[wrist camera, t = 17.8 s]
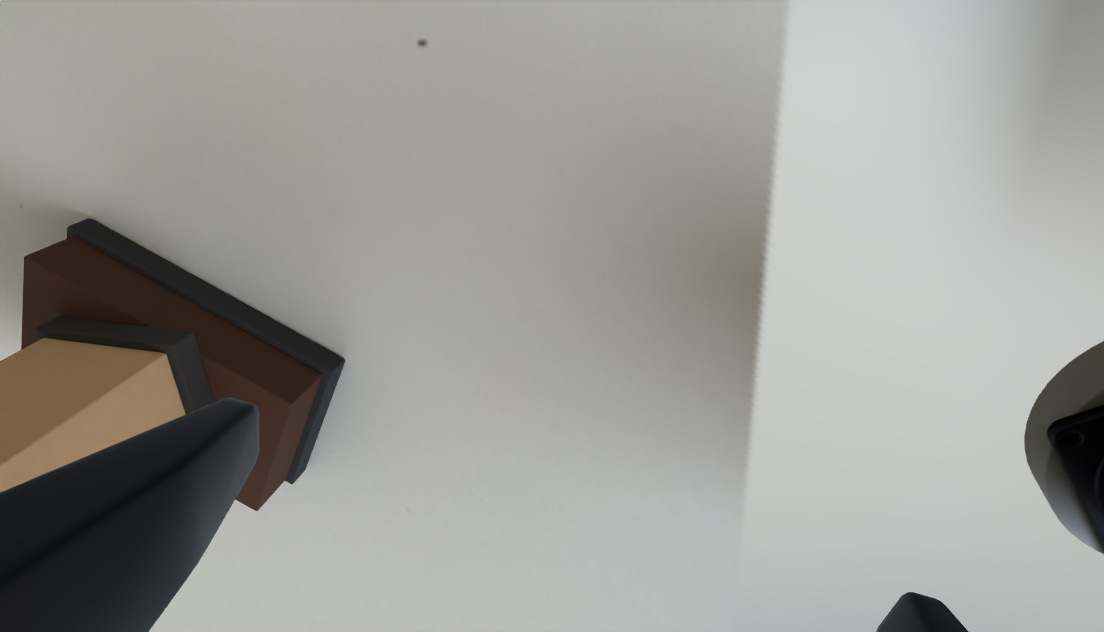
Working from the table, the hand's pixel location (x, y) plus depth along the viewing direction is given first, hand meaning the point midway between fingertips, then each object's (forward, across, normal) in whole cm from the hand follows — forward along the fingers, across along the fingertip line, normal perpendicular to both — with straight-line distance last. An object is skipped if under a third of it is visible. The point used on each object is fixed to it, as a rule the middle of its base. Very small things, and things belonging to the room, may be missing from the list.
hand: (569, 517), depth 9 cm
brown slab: (+14, +15, +11) cm, 23 cm away
